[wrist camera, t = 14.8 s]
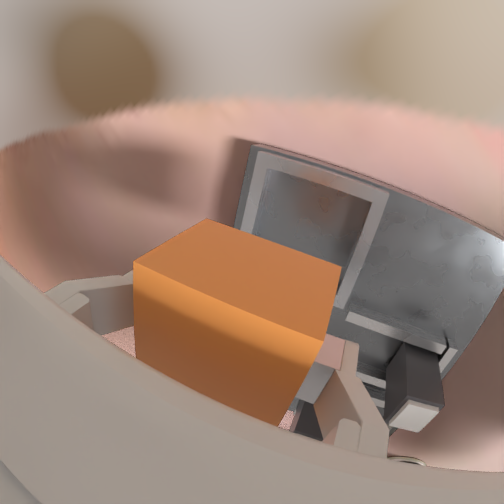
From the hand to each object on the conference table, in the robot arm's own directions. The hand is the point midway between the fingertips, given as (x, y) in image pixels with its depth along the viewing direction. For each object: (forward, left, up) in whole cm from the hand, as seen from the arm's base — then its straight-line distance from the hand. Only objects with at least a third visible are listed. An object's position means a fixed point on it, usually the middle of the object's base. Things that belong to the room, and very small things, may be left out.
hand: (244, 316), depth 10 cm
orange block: (0, 0, -1) cm, 1 cm away
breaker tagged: (-11, +7, -10) cm, 17 cm away
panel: (-5, +7, -13) cm, 15 cm away
